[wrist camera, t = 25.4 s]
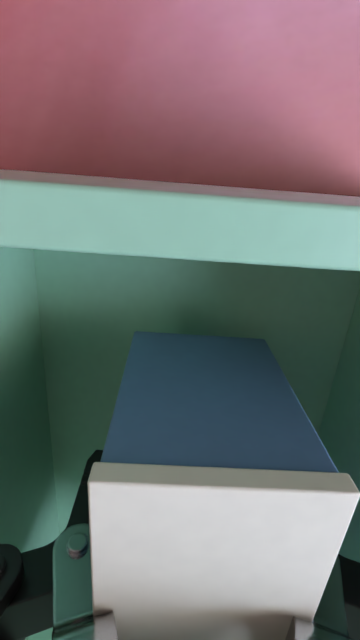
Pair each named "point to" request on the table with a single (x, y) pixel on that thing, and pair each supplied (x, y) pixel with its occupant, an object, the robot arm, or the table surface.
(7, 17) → the table surface
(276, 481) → the snack box
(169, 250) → the box
